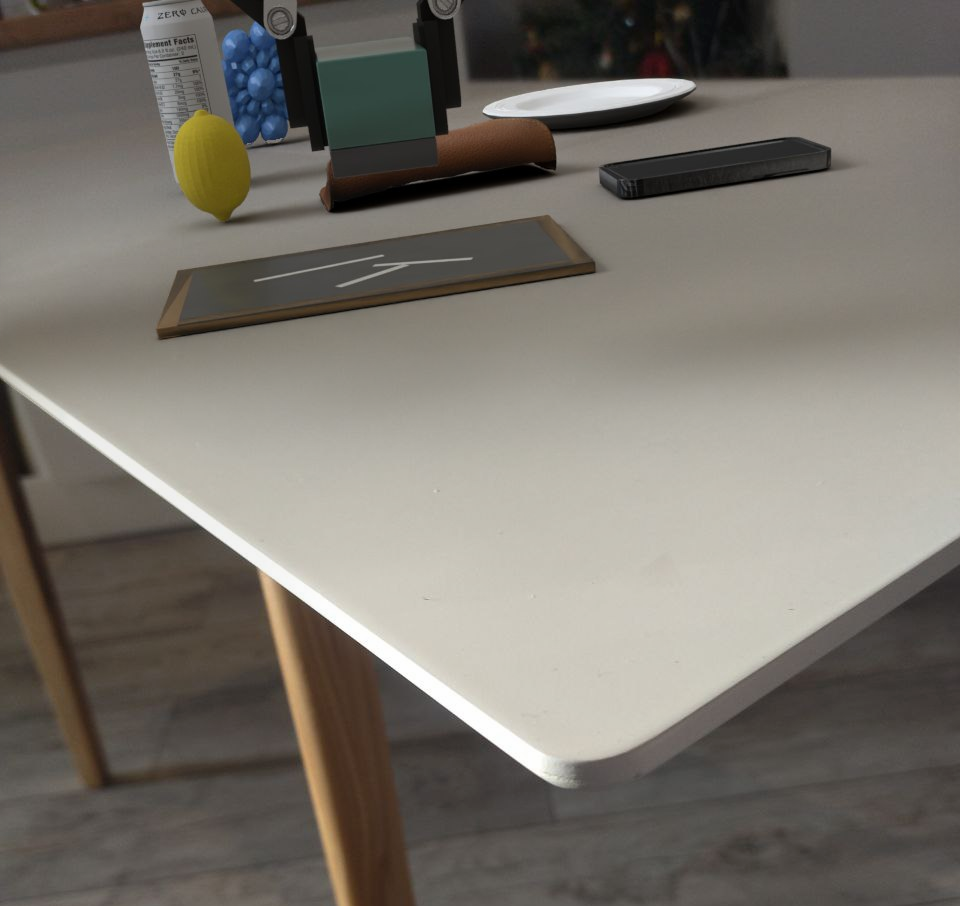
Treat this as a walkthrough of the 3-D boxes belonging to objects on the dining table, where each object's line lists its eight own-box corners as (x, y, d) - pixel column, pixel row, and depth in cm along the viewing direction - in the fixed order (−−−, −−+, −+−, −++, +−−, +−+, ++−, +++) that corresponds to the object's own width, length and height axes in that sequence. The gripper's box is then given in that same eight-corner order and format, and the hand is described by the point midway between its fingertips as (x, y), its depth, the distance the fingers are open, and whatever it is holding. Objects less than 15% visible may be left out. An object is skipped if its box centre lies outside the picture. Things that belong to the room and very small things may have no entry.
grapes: (329, 131, 133) (308, 9, 128) (328, 139, 128) (306, 11, 122) (223, 146, 133) (198, 24, 127) (217, 155, 127) (190, 27, 121)
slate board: (158, 339, 65) (155, 328, 65) (179, 279, 78) (177, 270, 77) (596, 272, 67) (595, 260, 67) (549, 224, 79) (548, 214, 79)
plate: (440, 136, 120) (438, 115, 119) (569, 99, 133) (568, 80, 132) (613, 136, 107) (612, 113, 106) (738, 95, 120) (737, 74, 119)
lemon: (262, 221, 92) (239, 107, 88) (188, 234, 91) (162, 118, 87) (258, 209, 96) (236, 100, 92) (188, 221, 96) (162, 111, 92)
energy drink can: (259, 180, 109) (222, -8, 102) (217, 194, 105) (175, -1, 97) (207, 181, 112) (167, -2, 105) (164, 196, 108) (119, 6, 100)
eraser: (439, 165, 46) (426, 48, 44) (333, 178, 46) (316, 62, 44) (422, 140, 52) (410, 36, 50) (329, 151, 52) (313, 48, 50)
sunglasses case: (525, 154, 101) (531, 81, 95) (553, 210, 98) (561, 138, 92) (312, 191, 98) (305, 118, 92) (333, 251, 94) (327, 179, 88)
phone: (595, 165, 89) (795, 134, 89) (596, 181, 89) (795, 151, 90) (620, 182, 82) (837, 149, 83) (621, 199, 82) (836, 166, 83)
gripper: (533, -458, 43) (567, 102, 52) (55, -411, 42) (175, 151, 51) (575, -529, 37) (605, 124, 46) (11, -476, 36) (158, 181, 45)
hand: (377, 133), depth 48 cm, fingers closed on eraser, 4 cm apart
